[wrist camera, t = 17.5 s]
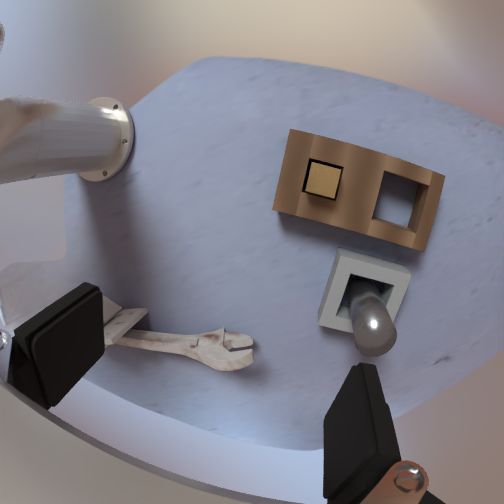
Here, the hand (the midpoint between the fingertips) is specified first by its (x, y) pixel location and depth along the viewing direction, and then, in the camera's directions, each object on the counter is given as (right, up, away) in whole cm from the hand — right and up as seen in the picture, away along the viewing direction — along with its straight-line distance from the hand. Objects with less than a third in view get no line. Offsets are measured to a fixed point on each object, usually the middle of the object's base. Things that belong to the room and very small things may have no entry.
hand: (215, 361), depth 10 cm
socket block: (+14, +11, +23) cm, 29 cm away
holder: (+15, -1, +27) cm, 31 cm away
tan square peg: (+9, +12, +24) cm, 28 cm away
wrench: (-12, -8, +35) cm, 38 cm away
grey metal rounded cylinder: (+15, -1, +27) cm, 31 cm away
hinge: (-21, -5, +36) cm, 42 cm away
